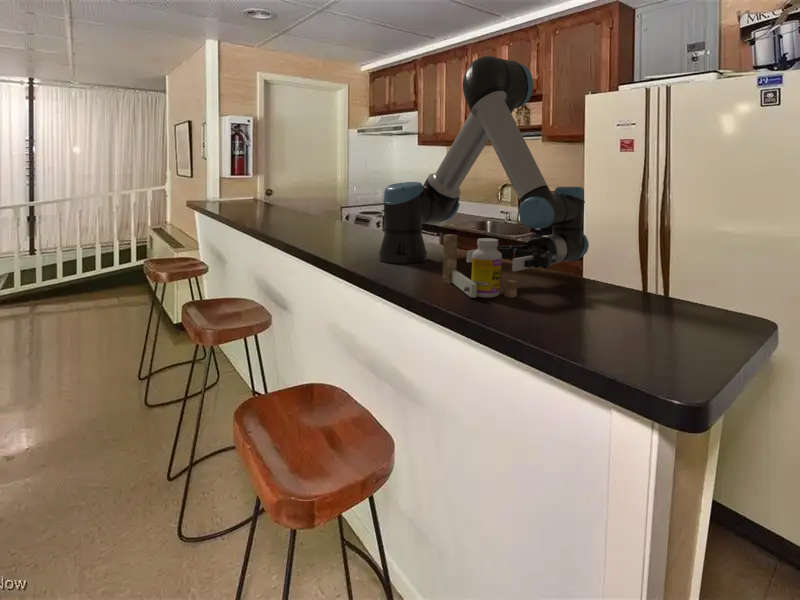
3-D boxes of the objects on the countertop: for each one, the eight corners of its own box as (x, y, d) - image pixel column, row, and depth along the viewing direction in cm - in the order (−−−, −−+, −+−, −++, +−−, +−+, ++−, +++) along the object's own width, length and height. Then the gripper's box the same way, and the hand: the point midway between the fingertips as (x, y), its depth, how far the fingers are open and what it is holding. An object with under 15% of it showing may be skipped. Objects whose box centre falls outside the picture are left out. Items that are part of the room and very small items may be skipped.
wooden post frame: (442, 281, 136) (443, 235, 133) (449, 280, 138) (450, 234, 135) (510, 297, 121) (513, 245, 118) (516, 296, 122) (520, 244, 119)
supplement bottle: (493, 299, 119) (496, 242, 116) (466, 296, 123) (468, 240, 119) (503, 293, 125) (506, 238, 122) (477, 290, 128) (479, 236, 125)
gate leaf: (447, 282, 135) (448, 270, 134) (456, 281, 135) (456, 270, 134) (466, 297, 119) (467, 284, 118) (476, 297, 120) (476, 284, 119)
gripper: (587, 273, 127) (534, 286, 114) (504, 258, 146) (450, 268, 132) (590, 241, 125) (536, 251, 112) (506, 231, 144) (450, 238, 130)
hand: (489, 260), depth 122 cm, fingers open, 13 cm apart
